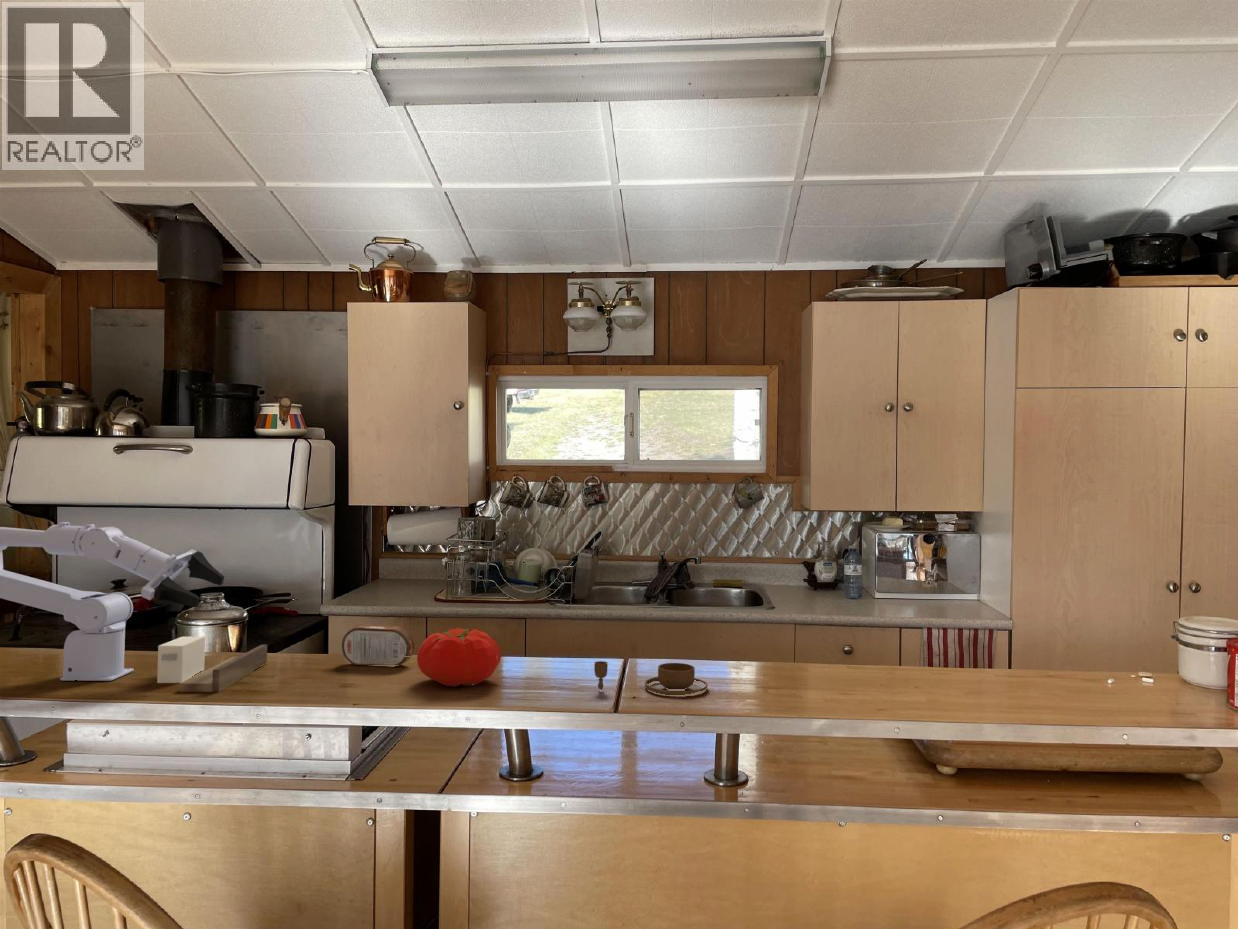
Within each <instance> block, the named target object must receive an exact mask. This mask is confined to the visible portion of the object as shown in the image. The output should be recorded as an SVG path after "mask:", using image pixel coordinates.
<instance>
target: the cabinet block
mask: <svg viewBox="0 0 1238 929" xmlns="http://www.w3.org/2000/svg"><path fill="white" fill-rule="evenodd" d="M157 648H158V649H157V650H158V651H157V675H156V676H157V681H156V683H157V684H180V683H182V682H183V681H185V680H187V679H189V678H191V677H192V676H194V675H195V674H197V673H199V672H200V671H203V670H204V671H205V656H206V655H205V654H206V636H180V637H177V638H175V639H173V640H170V641H167V642H164V643H162V644H159V645H158V646H157Z"/></svg>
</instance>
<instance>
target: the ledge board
mask: <svg viewBox="0 0 1238 929" xmlns="http://www.w3.org/2000/svg"><path fill="white" fill-rule="evenodd" d="M266 662H268V644H260V645H258V646H256V647H254V648H252V649H250V650H249V651H246V652H245V653H243V654H241V655H239V656H231V657H229V658H227V659H225V660H223V661H222V662H219V663H217V664H215V665H213V666H212V667H209V668H207V669H204V671H203V672H201V673H199V674H197V675H195V676H193V677H191V678H189V679H187V680H185V681H183V682H182V683H179V690H178V691H179V693H180V692H181V693H192V692H193V693H219V692H221V691H223V690H225V689H226V688H228V687H230V686H231V685H233V684H235V683H237V682H239V681H240V680H242V679H244V678H245V677H247V676H248V675H247V674H249V673H250V672H251V671H254V670H255V669H257V668H258V667H260V666H261V665H263V664H265V663H266ZM257 670H258V669H257ZM254 672H255V671H254ZM250 674H251V673H250ZM250 674H249V675H250ZM246 675H247V676H246Z"/></svg>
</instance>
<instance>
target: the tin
mask: <svg viewBox="0 0 1238 929" xmlns="http://www.w3.org/2000/svg"><path fill="white" fill-rule="evenodd" d="M341 650H342V654H343V656H344V658H345V659H346V660H347V661H348V662H349V663H350V664H352V665H355V666H357V665H400V666H403V663H404V664H405V663H407V662H408V661H409V660H410V659H411V657H412V656H413V654H414V652H415V641H414V637H413V636H412V634H411V633H410V632H409V630H407V629H406V628H404V627H402V626H398V625H386V624H385V625H383V624H367V623H365V624H364V623H362V624H358V625H355V626H353V627H352V628H351V629H349V630H348V631H347V632H346V633H345V634H344V636H343V638H342V641H341ZM404 656H411V657H404Z"/></svg>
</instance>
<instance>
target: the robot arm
mask: <svg viewBox="0 0 1238 929" xmlns="http://www.w3.org/2000/svg"><path fill="white" fill-rule="evenodd" d="M70 524H71V523H70V522H69V521H68V522H67V521H62V522H61V521H60V522H58V524H54V525H53V524H52V525H50V526H49V527H48V528H47V529H46V530H40V529H30V528H29V529H27V528H19V527H18V528H17V527H7V526H0V599H3V600H6V601H10V602H14V603H18V604H21V605H25V606H28V607H31V608H32V607H33V608H36V609H40V610H44V611H47V612H51V613H55V614H59V615H63V619H64V621H65V622H68V623H69V622H70V623H72V624H73V625H75V626H76V627H77V628H78V630H77V629H76V630H73V631H71V632H70V633H69V634H68V635H67V637H66V638H65V641H64V646H63V664H62V667H63V668H62V669H63V670H62V677H60V679H59V681H75V680H77V682H78V681H84V682H85V681H87V682H88V681H93V682H96V681H98V682H100V681H102V682H103V681H104V682H106V681H107V682H108V681H113V680H116V679H118V678H120V677H123V676H125V675H127V674H130V673H132V672H134V671H135V670H134V668H125V647H126V645H125V643H126V641H125V639H126V624H127V620H128V619H129V618H131V617H132V614H133V611H134V605H133V602H132V599H131V598H130V597H129V596H128V595H127V594H126V593H123V592H119V591H114V592H111V593H105V592H101V591H92V590H91V591H90V590H79V589H76V588H73V587H70V586H64V585H60V584H57V583H54V582H50V581H47V580H42V579H39V578H36V577H31V576H28V575H24V574H20V573H17V572H13V571H9V570H6V569H4V557H3V551H4V550H6V549H7V548H8V547H21V548H22V547H24V548H25V547H26V548H43V549H44V551H45V552H47V553H48V554H49V555H58V556H60V555H61V556H79V557H85V558H87V559H89V560H97V559H103V560H104V561H106V562H109V563H111V564H113V565H114V566H116V567H119V568H121V569H123V570H125V571H128V572H129V573H132V574H133V575H137V576H139V577H141V578H143V579H145V580H147V581H149V582H147V583H146V584H145V585H144V586H143V587H142V588H141V591H140V592H141V593H140V597H142V598H144V599H146V600H148V601H151V600H152V599H154V600H153V601H154V603H155V604H158V605H168V604H169V605H173V604H174V605H182V606H188V607H193V608H198V606H199V604H200V600H201V598H200V597H199V596H198V595H197V594H196V593H194V592H191V591H190V590H188V589H185V588H183V587H182V586H181V585H179V584H178V583H176V582H175V581H174V580H175V578H177V577H178V576H179V575H180V574H181V573H182V572H184V571H185V570H186V569H188V571H189V574H188V577H189V578H194V579H198V580H199V579H201V580H204V581H207V582H209V583H212V584H213V585H217V586H222V585H223V584H224V579H225V575H224V574H222V573H221V572H219V570H217V569H216V568H215V567H214V566H213V565H212V564H211V563H210V562H209V561H208V559H207V558H206V557H205V555H204V553H203V552H201V551H199V550H198V551H196V550H195V549H193V548H192V549H190V550H188V551H187V552H184V553H181V554H180V555H175V554H174V553H172V554H171V555H169V554H167V553H165V552H163V551H161V550H158V549H156V548H154V547H151V546H150V545H148V544H146V543H143V542H141V541H139V540H136V539H135V538H130V537H129V536H127V535H126V534H125V533H124V531H123V530H122V529H120V528H118V527H116V526H113V525H106V526H103V527H96V525H95V524H94V523H93V524H92V523H91V524H90V523H89V524H88V523H87V524H85V525H84V526H83V525H70ZM131 671H132V672H131Z"/></svg>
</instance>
